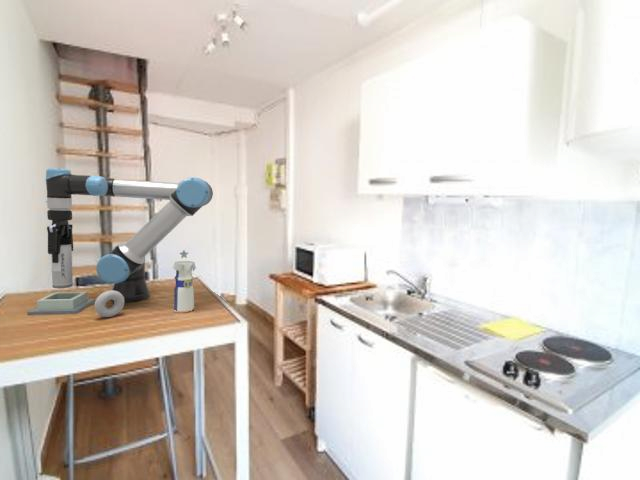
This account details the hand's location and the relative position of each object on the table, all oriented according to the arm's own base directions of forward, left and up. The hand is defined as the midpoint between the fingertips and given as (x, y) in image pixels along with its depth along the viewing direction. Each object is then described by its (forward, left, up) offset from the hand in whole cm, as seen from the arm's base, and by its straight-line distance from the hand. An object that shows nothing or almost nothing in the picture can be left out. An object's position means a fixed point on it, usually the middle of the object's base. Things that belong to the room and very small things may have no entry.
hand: (61, 269), depth 132 cm
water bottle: (-46, +7, -16) cm, 49 cm away
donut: (-21, +13, -16) cm, 29 cm away
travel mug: (0, 0, -7) cm, 7 cm away
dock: (0, 0, -15) cm, 15 cm away
